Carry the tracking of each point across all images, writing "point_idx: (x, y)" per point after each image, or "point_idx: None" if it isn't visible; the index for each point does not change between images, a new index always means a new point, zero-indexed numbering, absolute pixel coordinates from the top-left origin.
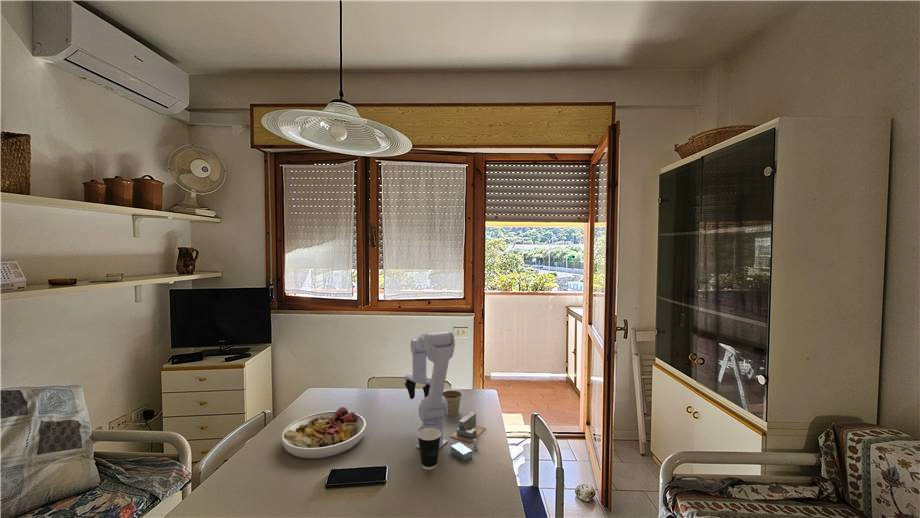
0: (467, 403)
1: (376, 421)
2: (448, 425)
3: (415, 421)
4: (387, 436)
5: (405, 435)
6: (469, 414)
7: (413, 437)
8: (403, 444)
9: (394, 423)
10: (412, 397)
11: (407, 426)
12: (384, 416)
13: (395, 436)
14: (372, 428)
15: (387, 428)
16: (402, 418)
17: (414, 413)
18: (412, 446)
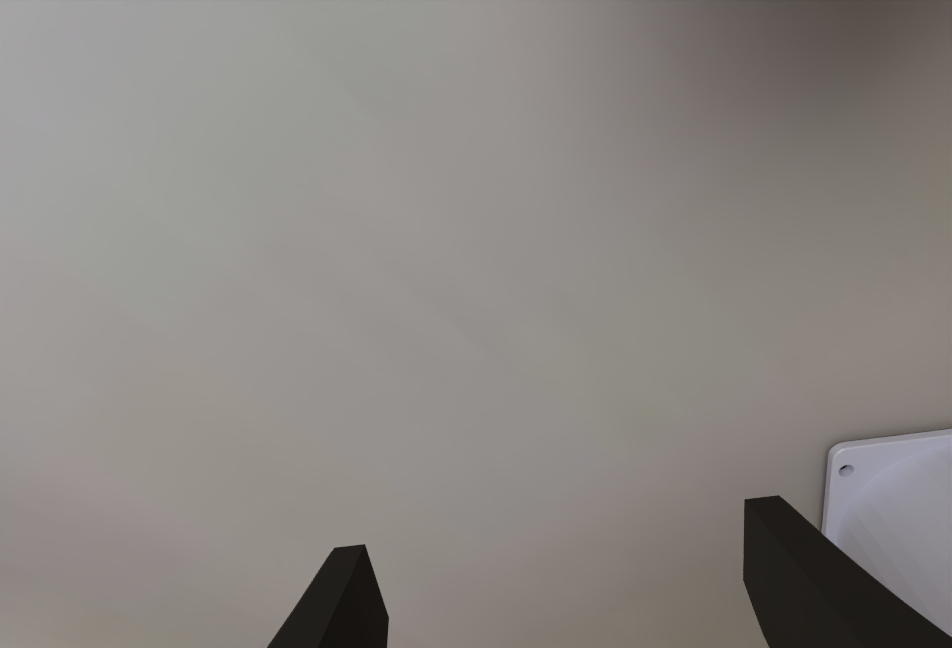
0: None
1: (136, 556)
2: (882, 113)
3: (433, 318)
4: (470, 643)
5: (587, 557)
6: None
7: (678, 539)
8: (684, 643)
9: (300, 483)
10: (376, 618)
11: (460, 446)
12: (71, 453)
13: (526, 610)
14: (248, 639)
15: None
16: (252, 364)
17: (227, 169)
18: None
